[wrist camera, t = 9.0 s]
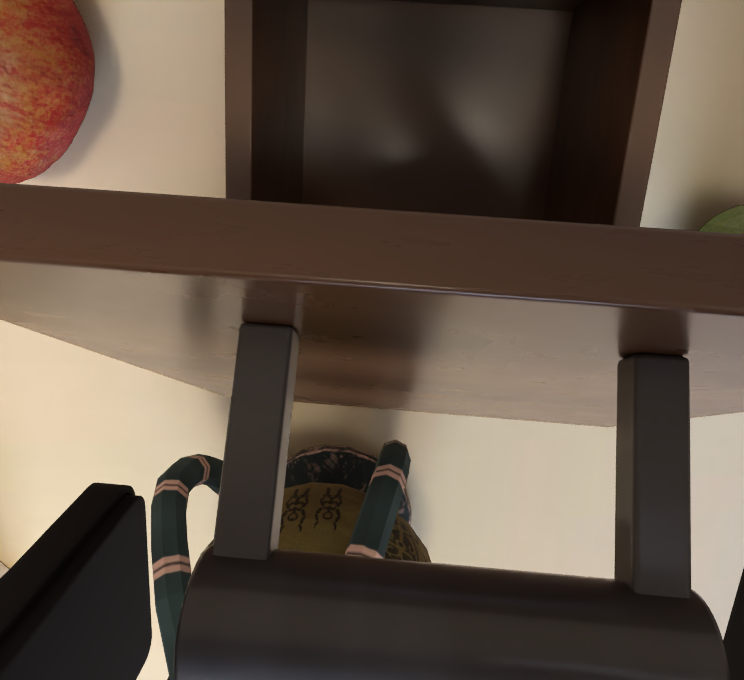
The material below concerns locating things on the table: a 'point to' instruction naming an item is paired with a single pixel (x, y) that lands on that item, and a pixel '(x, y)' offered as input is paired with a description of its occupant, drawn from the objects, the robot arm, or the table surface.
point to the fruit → (41, 83)
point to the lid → (408, 393)
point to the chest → (448, 104)
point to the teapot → (292, 516)
